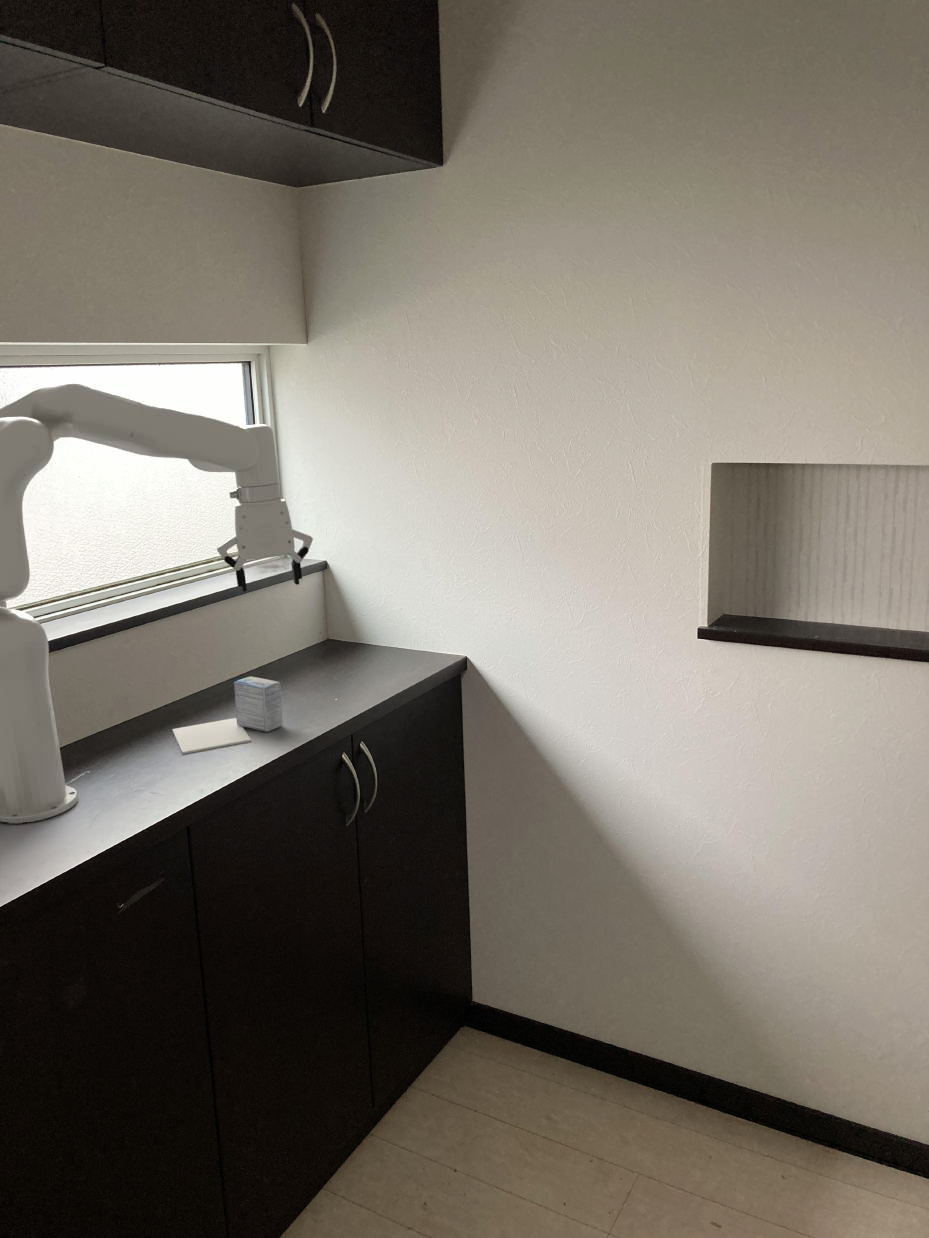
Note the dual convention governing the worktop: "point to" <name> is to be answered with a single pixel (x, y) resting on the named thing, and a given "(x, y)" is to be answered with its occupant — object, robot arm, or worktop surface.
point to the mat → (210, 735)
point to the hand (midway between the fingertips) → (270, 586)
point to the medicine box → (258, 703)
